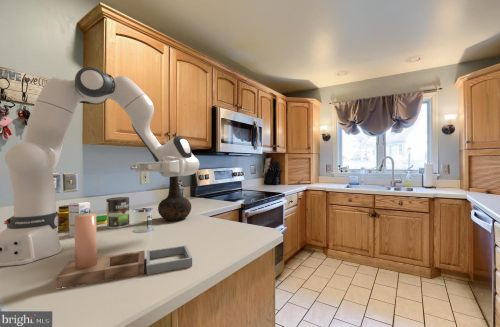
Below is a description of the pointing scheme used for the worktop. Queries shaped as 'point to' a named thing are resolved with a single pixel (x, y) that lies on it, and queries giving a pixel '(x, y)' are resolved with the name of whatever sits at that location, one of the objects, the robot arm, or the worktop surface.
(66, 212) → the condiment
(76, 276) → the partly covered box
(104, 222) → the dish sponge
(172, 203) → the dark brown vase
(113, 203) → the coffee can
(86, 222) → the peach cylinder
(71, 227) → the syrup box
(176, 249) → the grey square frame
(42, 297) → the worktop surface
